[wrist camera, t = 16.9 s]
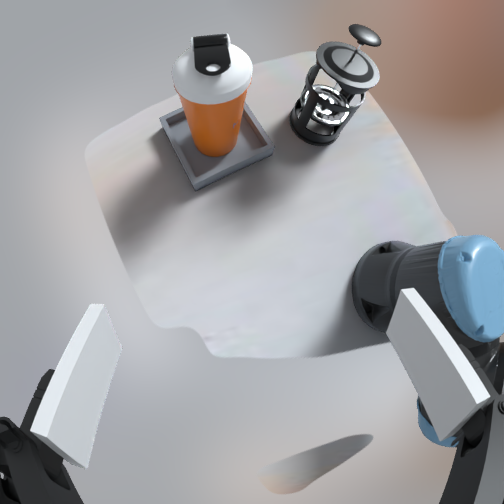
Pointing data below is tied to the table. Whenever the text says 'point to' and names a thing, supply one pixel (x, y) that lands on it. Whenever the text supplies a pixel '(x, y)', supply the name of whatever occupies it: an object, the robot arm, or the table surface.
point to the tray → (214, 168)
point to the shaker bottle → (213, 91)
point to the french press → (349, 79)
